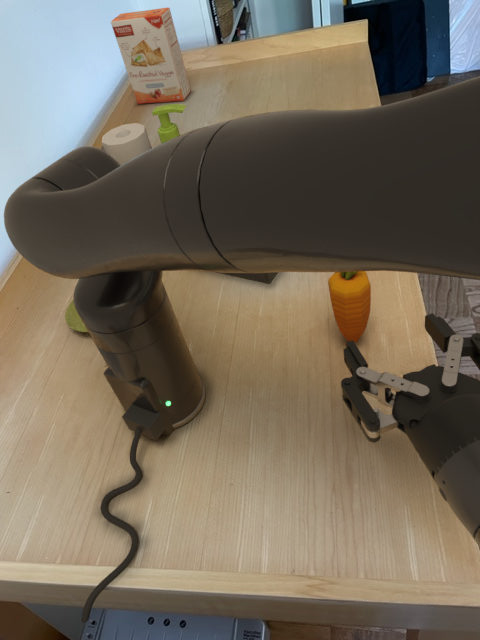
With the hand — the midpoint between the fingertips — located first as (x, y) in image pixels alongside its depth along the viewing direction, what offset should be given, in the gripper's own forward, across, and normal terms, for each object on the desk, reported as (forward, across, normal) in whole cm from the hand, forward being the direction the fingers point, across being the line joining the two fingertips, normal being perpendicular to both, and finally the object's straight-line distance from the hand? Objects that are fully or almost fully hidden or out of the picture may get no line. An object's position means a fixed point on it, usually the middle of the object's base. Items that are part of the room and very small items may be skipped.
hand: (388, 333), depth 54 cm
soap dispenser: (+52, +13, +11) cm, 55 cm away
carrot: (+10, 0, +11) cm, 15 cm away
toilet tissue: (+76, +23, +11) cm, 80 cm away
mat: (+32, +32, +11) cm, 46 cm away
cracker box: (+112, +9, +11) cm, 113 cm away
